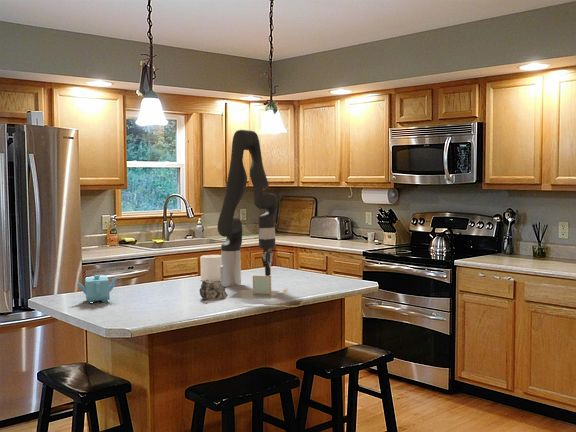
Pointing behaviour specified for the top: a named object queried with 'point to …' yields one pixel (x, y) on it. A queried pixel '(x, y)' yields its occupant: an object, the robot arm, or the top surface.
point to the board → (250, 294)
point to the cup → (210, 267)
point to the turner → (284, 290)
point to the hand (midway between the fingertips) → (267, 275)
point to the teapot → (97, 288)
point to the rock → (212, 290)
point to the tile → (261, 284)
